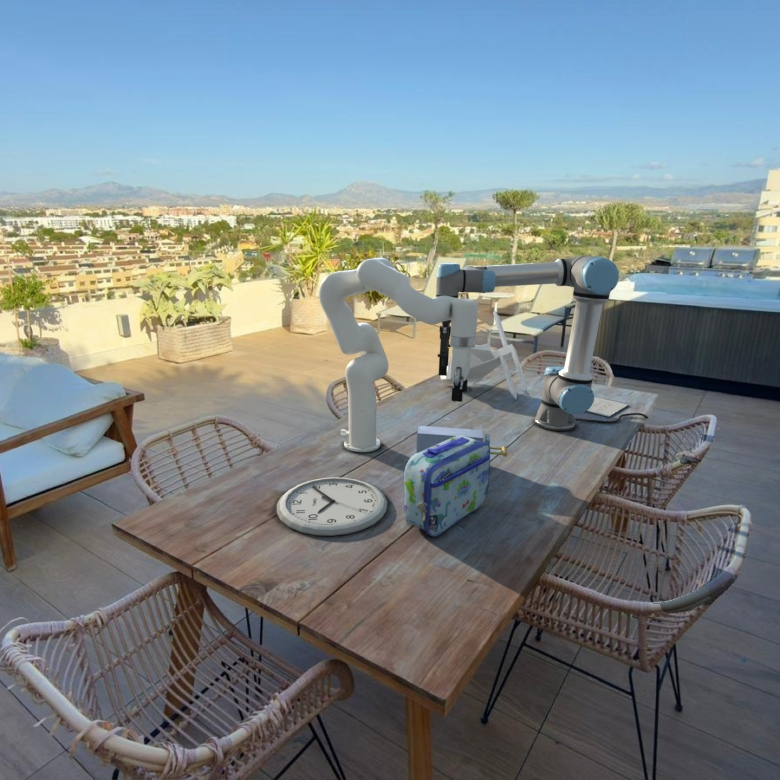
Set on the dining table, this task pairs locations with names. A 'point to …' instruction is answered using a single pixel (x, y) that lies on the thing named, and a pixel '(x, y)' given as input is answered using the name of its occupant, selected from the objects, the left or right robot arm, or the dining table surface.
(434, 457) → the lunch box
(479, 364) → the white plastic object
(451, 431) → the cabinet
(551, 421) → the right robot arm
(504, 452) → the drawer
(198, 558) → the dining table surface
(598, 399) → the invitation card
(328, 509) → the wall clock
